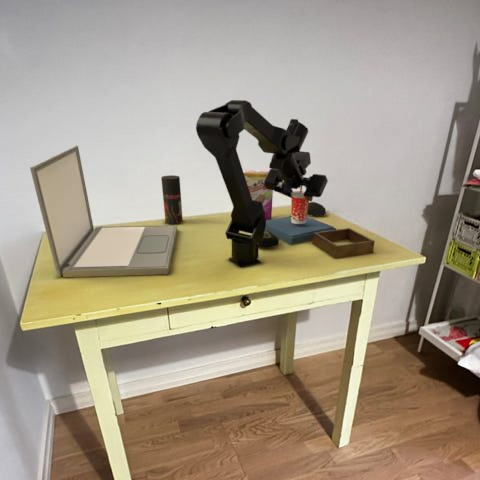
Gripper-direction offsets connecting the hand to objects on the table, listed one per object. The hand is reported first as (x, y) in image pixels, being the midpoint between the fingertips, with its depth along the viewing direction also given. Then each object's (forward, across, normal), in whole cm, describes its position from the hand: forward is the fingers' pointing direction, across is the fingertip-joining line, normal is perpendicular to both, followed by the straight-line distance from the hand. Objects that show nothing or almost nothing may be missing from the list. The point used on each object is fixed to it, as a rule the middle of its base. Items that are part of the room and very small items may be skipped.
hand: (302, 198), depth 126 cm
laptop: (-24, +32, +40) cm, 57 cm away
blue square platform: (+7, +1, +8) cm, 11 cm away
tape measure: (-5, +2, +20) cm, 21 cm away
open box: (+3, -17, +12) cm, 21 cm away
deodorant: (-4, +40, +19) cm, 45 cm away
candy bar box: (+10, +19, +6) cm, 22 cm away
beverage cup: (+4, 0, +6) cm, 7 cm away
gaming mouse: (+23, +7, -9) cm, 26 cm away
